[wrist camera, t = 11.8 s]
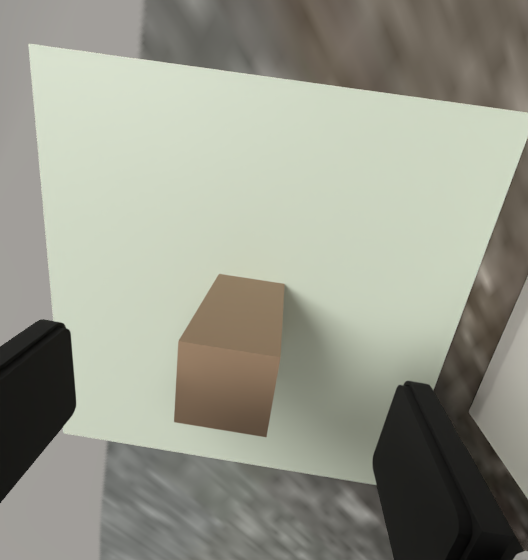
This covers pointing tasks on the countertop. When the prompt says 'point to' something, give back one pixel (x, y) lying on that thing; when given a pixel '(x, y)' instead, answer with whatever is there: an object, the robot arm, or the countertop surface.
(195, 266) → the lid
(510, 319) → the box
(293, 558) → the countertop surface
